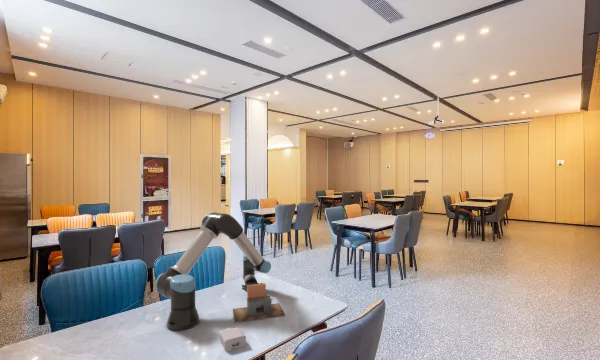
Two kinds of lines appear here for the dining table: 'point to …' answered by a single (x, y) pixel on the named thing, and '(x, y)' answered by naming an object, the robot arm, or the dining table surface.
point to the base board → (242, 316)
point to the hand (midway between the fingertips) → (255, 295)
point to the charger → (232, 338)
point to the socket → (257, 312)
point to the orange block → (256, 291)
